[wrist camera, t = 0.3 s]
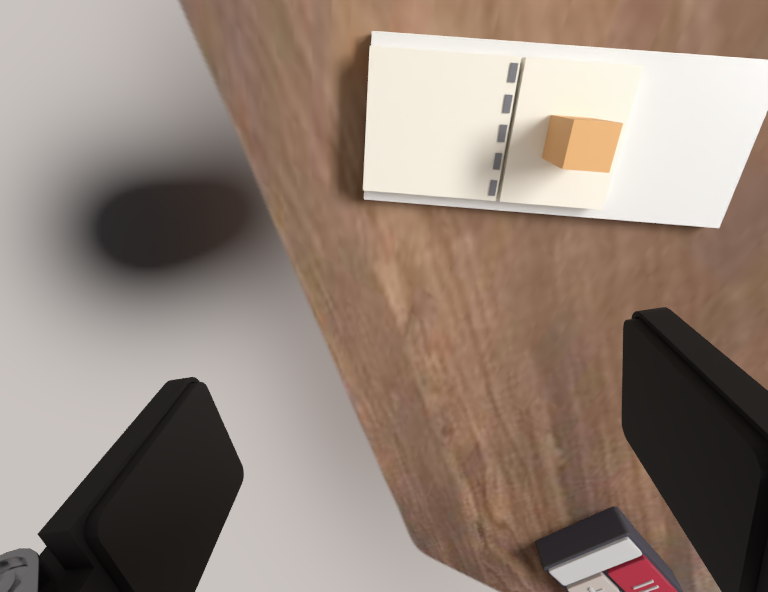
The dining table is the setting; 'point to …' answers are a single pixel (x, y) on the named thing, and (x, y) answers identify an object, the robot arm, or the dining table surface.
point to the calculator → (604, 557)
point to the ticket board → (494, 112)
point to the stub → (566, 131)
